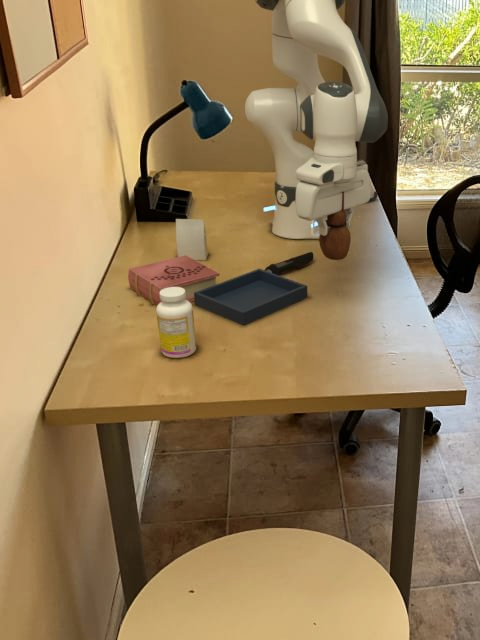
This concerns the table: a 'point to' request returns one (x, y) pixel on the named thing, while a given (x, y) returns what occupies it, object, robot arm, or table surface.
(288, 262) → the electric trimmer
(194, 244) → the white folded card
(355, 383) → the table surface
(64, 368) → the table surface
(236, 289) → the tray
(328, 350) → the table surface
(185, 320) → the supplement bottle
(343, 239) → the wooden figurine
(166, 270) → the book
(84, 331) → the table surface
